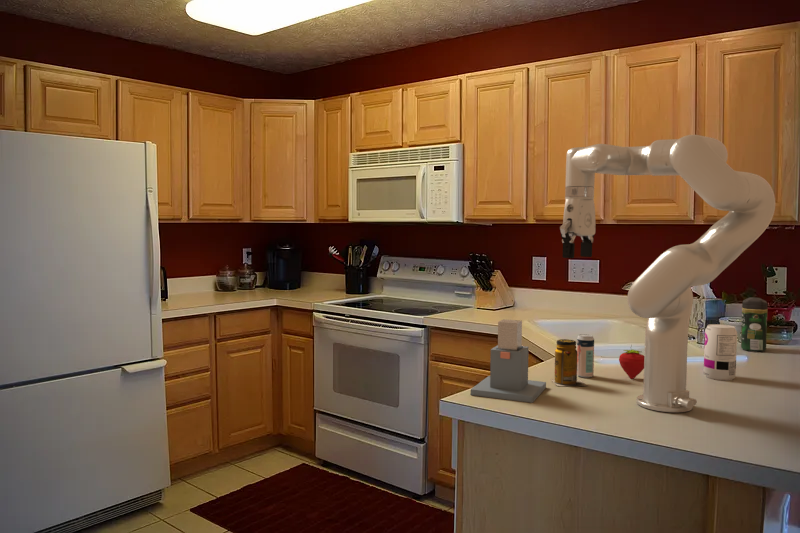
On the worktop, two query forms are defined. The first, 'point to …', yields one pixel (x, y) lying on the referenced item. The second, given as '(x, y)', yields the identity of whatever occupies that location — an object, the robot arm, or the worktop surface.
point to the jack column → (510, 335)
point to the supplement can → (720, 352)
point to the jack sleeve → (509, 377)
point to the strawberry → (632, 362)
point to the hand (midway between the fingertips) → (577, 257)
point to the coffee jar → (754, 324)
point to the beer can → (585, 356)
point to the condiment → (566, 364)
